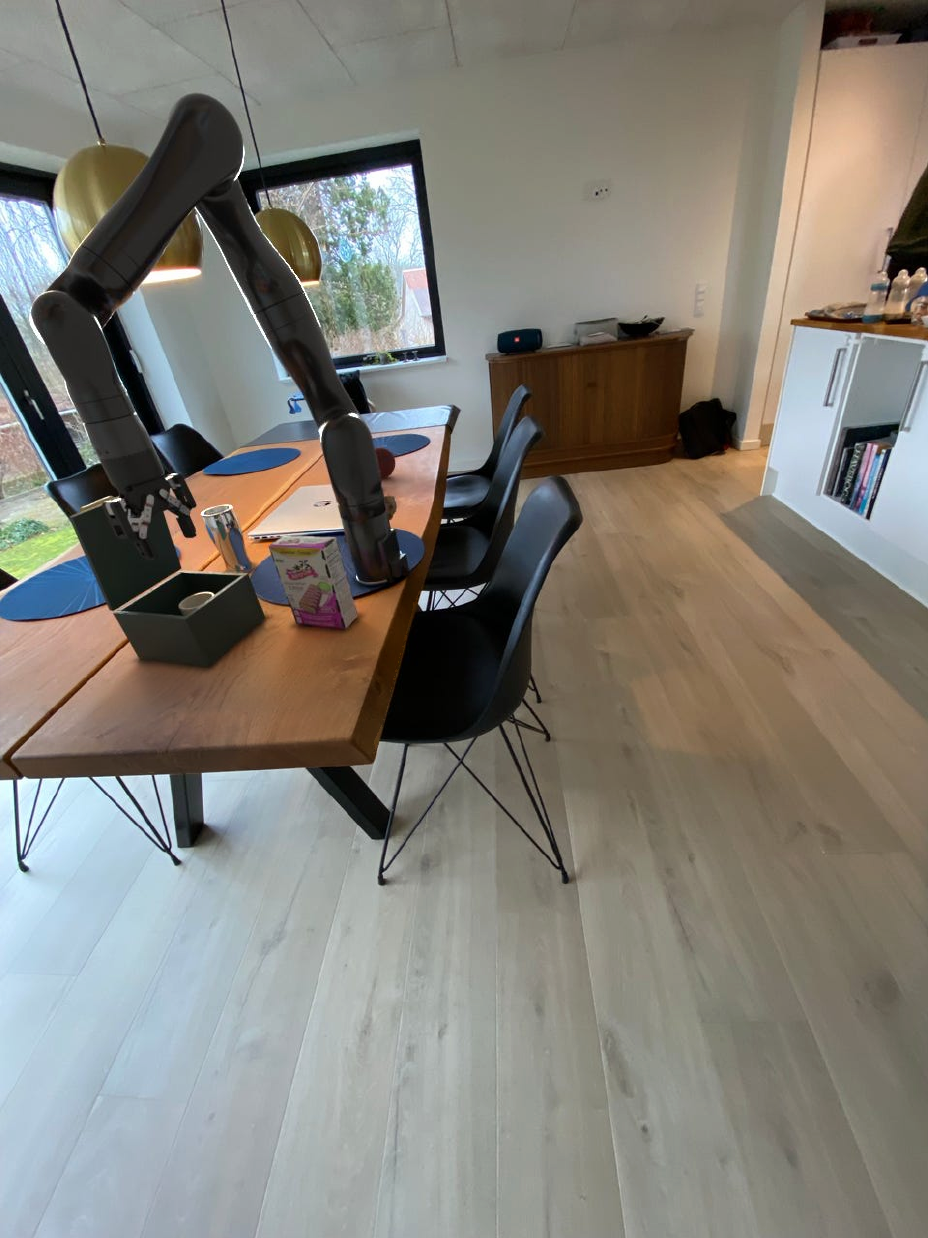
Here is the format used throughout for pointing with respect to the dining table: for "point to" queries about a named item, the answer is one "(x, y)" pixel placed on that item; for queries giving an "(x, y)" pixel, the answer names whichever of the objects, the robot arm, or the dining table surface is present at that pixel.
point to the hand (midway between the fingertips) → (172, 547)
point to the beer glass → (227, 538)
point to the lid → (123, 554)
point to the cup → (194, 602)
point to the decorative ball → (385, 461)
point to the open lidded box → (191, 618)
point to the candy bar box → (314, 580)
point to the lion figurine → (390, 506)
